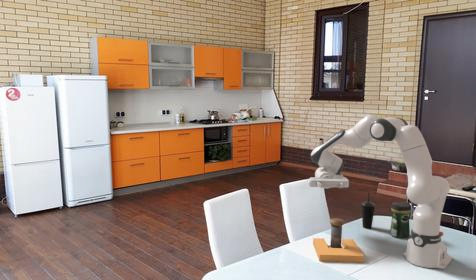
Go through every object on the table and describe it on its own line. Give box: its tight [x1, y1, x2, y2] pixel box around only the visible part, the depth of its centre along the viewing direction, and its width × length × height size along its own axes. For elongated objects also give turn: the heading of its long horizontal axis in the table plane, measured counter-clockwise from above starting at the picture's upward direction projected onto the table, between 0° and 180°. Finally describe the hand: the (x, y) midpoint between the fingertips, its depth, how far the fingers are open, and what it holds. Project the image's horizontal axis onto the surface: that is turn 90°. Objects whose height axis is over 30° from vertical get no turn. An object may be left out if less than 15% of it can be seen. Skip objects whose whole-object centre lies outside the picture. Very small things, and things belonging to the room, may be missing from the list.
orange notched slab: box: [312, 237, 365, 263], centre depth 186 cm, size 20×20×3 cm
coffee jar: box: [389, 201, 412, 239], centre depth 208 cm, size 10×8×19 cm
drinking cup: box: [360, 192, 376, 230], centre depth 220 cm, size 8×8×20 cm
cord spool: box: [328, 217, 345, 248], centre depth 189 cm, size 6×6×15 cm
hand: (331, 186), depth 193 cm, fingers open, 8 cm apart
